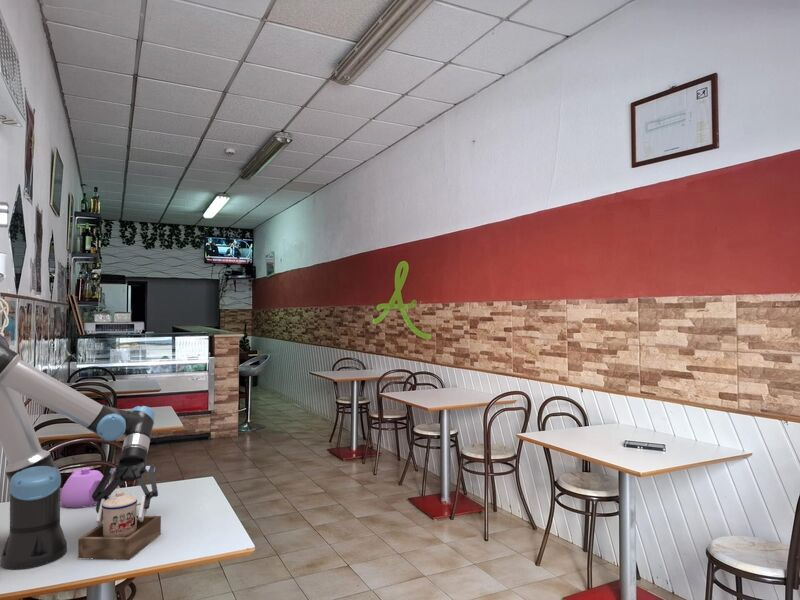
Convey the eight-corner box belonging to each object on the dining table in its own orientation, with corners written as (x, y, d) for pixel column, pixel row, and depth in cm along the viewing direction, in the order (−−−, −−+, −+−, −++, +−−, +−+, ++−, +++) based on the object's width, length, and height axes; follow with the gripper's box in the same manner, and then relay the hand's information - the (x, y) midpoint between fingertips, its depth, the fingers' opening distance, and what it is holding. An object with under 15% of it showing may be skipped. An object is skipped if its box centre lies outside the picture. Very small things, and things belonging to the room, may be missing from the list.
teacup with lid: (107, 542, 151) (107, 499, 151) (97, 533, 158) (97, 492, 158) (152, 529, 159) (152, 489, 160) (141, 521, 166) (141, 482, 166)
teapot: (49, 501, 198) (49, 467, 198) (95, 490, 210) (95, 458, 210) (74, 514, 184) (74, 478, 184) (121, 502, 196) (121, 468, 197)
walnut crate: (78, 558, 150) (78, 538, 150) (114, 533, 167) (114, 515, 167) (129, 559, 149) (129, 539, 149) (160, 534, 166) (160, 515, 167)
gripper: (175, 456, 176) (164, 523, 161) (97, 461, 172) (79, 530, 156) (171, 443, 171) (160, 511, 155) (91, 447, 167) (72, 518, 151)
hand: (119, 521), depth 156 cm, fingers closed on teacup with lid, 10 cm apart
